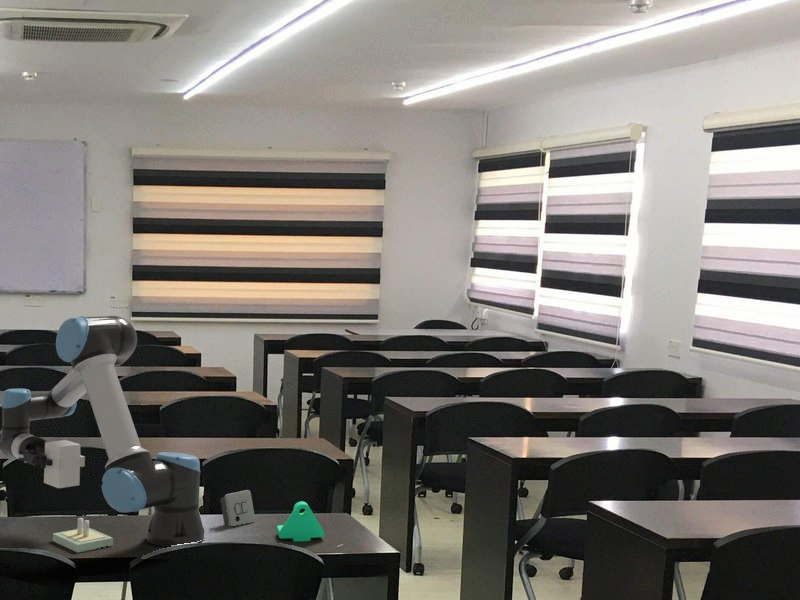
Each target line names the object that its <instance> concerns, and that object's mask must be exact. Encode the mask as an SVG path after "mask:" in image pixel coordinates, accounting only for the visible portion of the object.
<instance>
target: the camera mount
mask: <svg viewBox="0 0 800 600" xmlns="http://www.w3.org/2000/svg"><path fill="white" fill-rule="evenodd" d="M292 508H293V510H292V512H291V513H290V515H289V516H288V517H287V519H286V520H285V522H284V523H283V524H281V525H280V524H279V525H277V526H276V533H277V535H278V538H279V539H291V540H292V541H293V542H311V541H312V539H311V538H324V537H325V531H324V529H323V528H322V526H321V524H320V522H319V520H318V519H317V517H316V515H315V514H314V513H313V510H312V508H310V506H309V505H308V503H307V502H305V501H303V500H302V501H298V502H296V503H295V504H294V506H293V507H292ZM302 509H303V510H304V511H303V512H300V511H301V510H302Z"/></svg>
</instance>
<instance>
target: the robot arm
mask: <svg viewBox="0 0 800 600" xmlns="http://www.w3.org/2000/svg"><path fill="white" fill-rule="evenodd" d="M137 335H138V333H137V331H136V329H135V327H134V326H133V324H132V323H131V321H130V322H129V320H127V319H125V318H124V317H121V316H117V315H108V316H106V315H105V316H102V315H101V316H82V315H81V316H77V317H70V318H68V319H65V321H64V322H62V324H61V325H60V326H59V328H58V331H57V335H56V339H55V347H56V348H55V349H56V353H57V356H58V357H59V359H60V360H62V361H63V362H66V363H70V365H71V368H72V369H71V370H70V372H68V373H67V374H66V375H65V376H64V377H63V378H62V379H61V380H60V381H59V382H58V383H57V384H56V385H54V387H53V388H52V389H50V391H49V392H46V393H45V392H44V393H35V394H34V393H33V394H32V393H31V390H30V389H28V388H8V389H6V390H4V392H3V394H2V399H1V400H2V401H1V420H2V421H1V422H2V423H1V429H0V453H2V454H3V455H5V456H6V457H11V458H15V459H17V460H18V461H21V462H24V463H25V464H29V465H31V466H33V467H37V466H39V465H40V469H44V468H46V465H47V466H48V467H51V468H54V469H57V470H61V459H58V458H55V457H52V456H47V458H46V455H45V442H48V441H47V440H46V439H44V438H42V437H38V436H36V435H33V434H31V433H30V428H31V427H30V426H31V422H32V421H37V420H38V421H40V420H46V419H55V418H64V417H69V416H71V415H73V413H75V411H76V408H77V405H78V404H77V402H78V401H79V399H81V398H82V397H83V396H84V395H85V394H86V393H87V397H88V399H89V403H90V406H91V408H92V411H93V415H94V418H95V421H96V424H97V426H98V430H99V433H100V436H101V439H102V442H103V445H104V448H105V451H106V454H107V457H108V460H107V462H106V464H105V466H104V469H105V472H104V474H103V476H102V478H101V482H102V484H101V490H102V494H103V495H102V496H103V497H104V499H105V501H106V503H107V504H108V505H109V506H110V507H111V508H112V509H113V510H115V511H117V512H119V513H124V514H125V513H131V512H139V511H142V510H145V509H150V508H153V509H154V510H153V513H152V515H151V519H150V523H149V525H148V527H147V530H146V541H147V542H148V543H149V544H152V545H154V546H158V547H159V546H160V547H165V546H171V545H177V544H184V543H191V542H197V541H200V540H203V539H204V540H205V528H204V526H203V522H202V517H201V515H200V514H201V513H200V511H199V510H200V509H199V508H200V506H199V505H200V504H199V502H200V487H201V486H200V484H201V483H200V482H201V481H200V480H201V468H200V467H201V465H200V464H201V463H200V459H199V458H198V457H197V456H196V455H192V454H188V453H182V452H172V451H171V452H169V451H161V452H158V453H156V455H155V457H154V460H153V459H152V455H151V453H150V451H149V450H148V449H145V448H143V447H142V445H141V442H140V439H139V436H138V433H137V429H136V428H135V424H134V421H133V418H132V415H131V412H130V409H129V407H128V403H127V401H126V398H125V394H124V391H123V389H122V385H121V382H120V380H119V378H118V377H119V376H118V374H117V372H116V369H115V367H116V366H120V365H123V364H124V363H125V362H126V361H127V360H128V359H129V358H130V357H131V356H132V355H133V353H134V352H135V350H136V347H137V344H138V336H137ZM81 454H82V453H81V450H80V468H83V467H85V466H86V465H85V461H86V456H84V455H81ZM204 540H203V541H204Z"/></svg>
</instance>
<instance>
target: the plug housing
mask: <svg viewBox="0 0 800 600" xmlns="http://www.w3.org/2000/svg"><path fill="white" fill-rule="evenodd" d="M80 451H81V444H80V443H78V442H74V441H70V440H67V439H63V440H53V441H47V442H45V455H46V458H47V456H52V457H55V458H58V459H61V470H57V469H54V468H51V467H48V466H47V465H46V468H43V471H44V472H43V483H44V484H47V485H48V486H51V487H54V488H56V489H63V488H64V489H65V488H70V487H76V486H80V475H81V474H80V473H81V466H80V455H81V454H80Z"/></svg>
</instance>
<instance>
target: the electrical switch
mask: <svg viewBox="0 0 800 600" xmlns="http://www.w3.org/2000/svg"><path fill="white" fill-rule="evenodd" d="M220 505H221V513H222V517H223V524H227V525H226V526H229V527H230V526H235V527H237V526H236V525H239V526H242V525H241V524H243V525H246V523H247V524H252V523H254V522H255V521H256V518H255V512H254V511H255V510H254V505H253V499H252V493H251V490H250V489H245V490H240V491H236V492H231V493H227V494H225V495H224V497H220Z"/></svg>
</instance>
